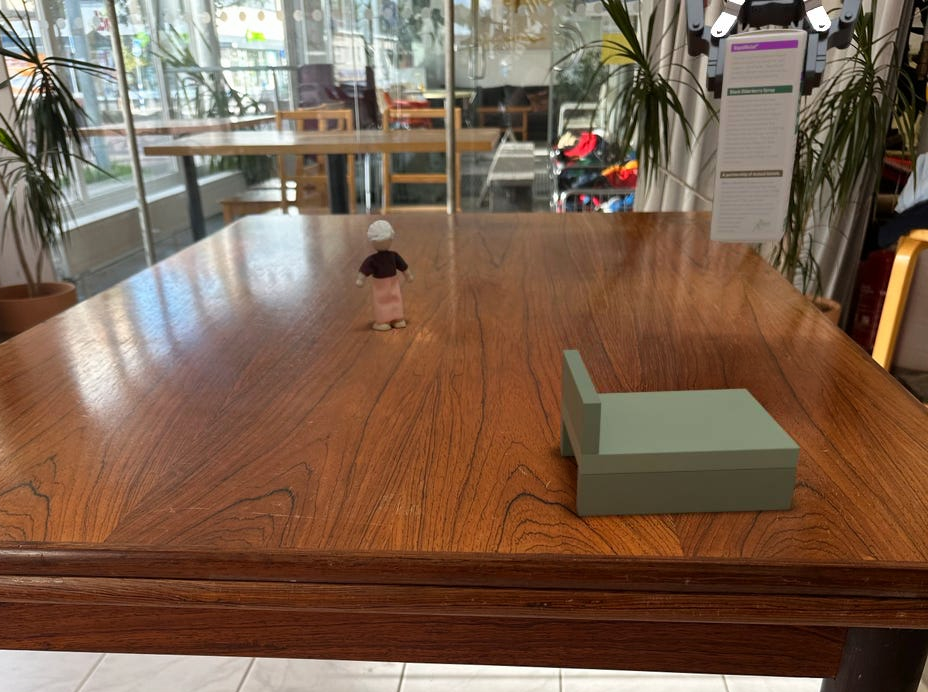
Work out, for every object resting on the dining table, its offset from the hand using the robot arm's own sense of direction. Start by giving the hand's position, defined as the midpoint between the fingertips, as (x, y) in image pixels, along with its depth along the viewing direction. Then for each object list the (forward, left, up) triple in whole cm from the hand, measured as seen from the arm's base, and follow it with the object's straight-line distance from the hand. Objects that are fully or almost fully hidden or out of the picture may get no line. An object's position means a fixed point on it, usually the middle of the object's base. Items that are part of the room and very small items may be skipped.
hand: (763, 88), depth 71 cm
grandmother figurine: (+33, -41, -26) cm, 59 cm away
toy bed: (+8, +14, -26) cm, 30 cm away
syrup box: (-1, -2, -11) cm, 11 cm away
